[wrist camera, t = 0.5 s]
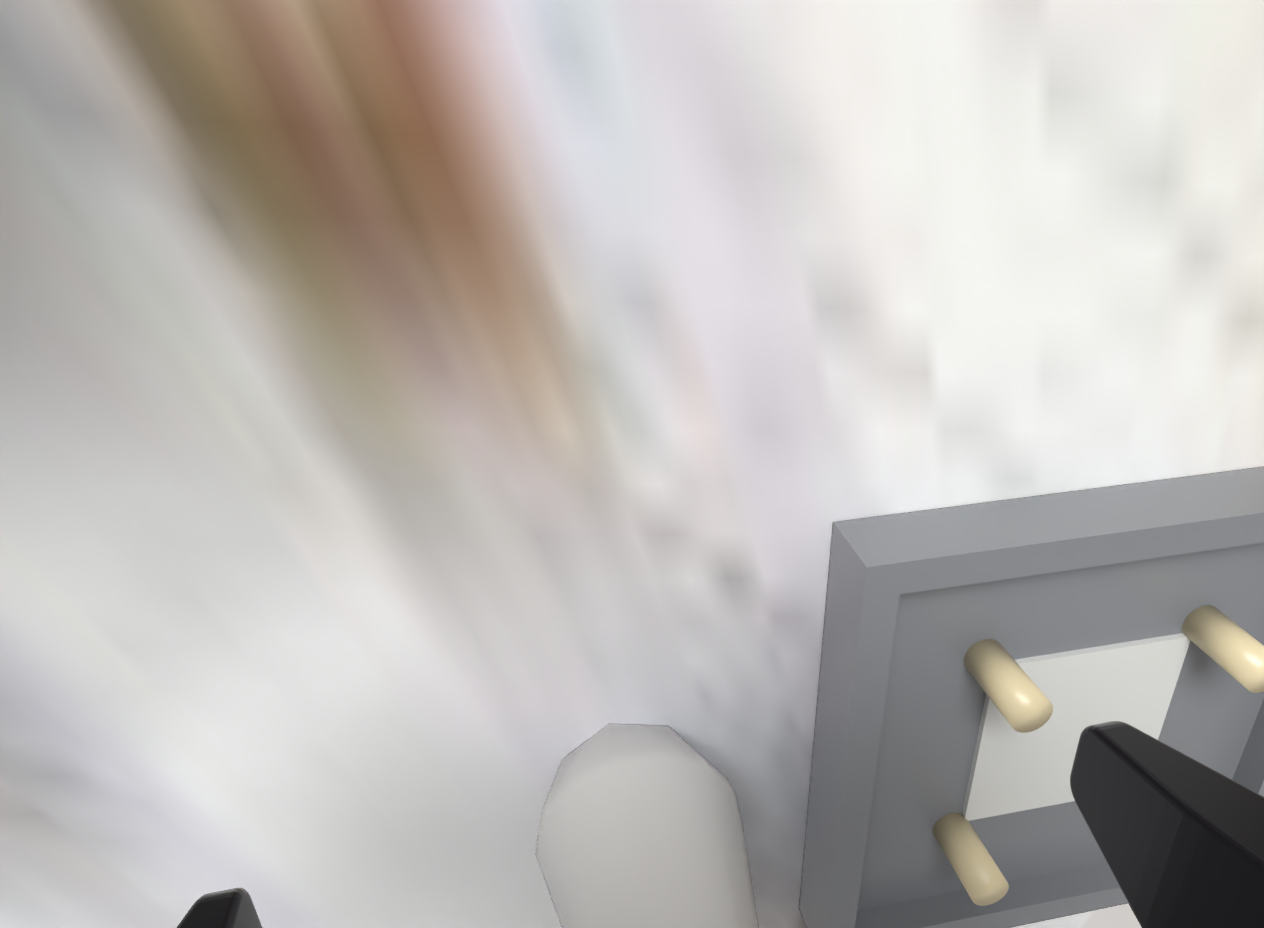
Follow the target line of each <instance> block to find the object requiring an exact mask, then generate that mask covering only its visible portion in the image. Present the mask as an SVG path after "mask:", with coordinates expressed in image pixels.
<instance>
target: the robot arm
mask: <svg viewBox="0 0 1264 928" xmlns="http://www.w3.org/2000/svg"><path fill="white" fill-rule="evenodd" d="M1070 787H1071V792H1072V795H1073V798H1074V800H1075V802H1076V804H1077V806H1078V808H1079V810H1080V812H1081V814H1082V815H1083V817H1084V819H1085V821H1086V823H1087V825H1088V827H1089V829H1090V831H1091V833H1092V835H1093V836H1094V838H1095V840H1096V842H1097V844H1098V846H1099V848H1100V850H1101V852H1102V854H1103V856H1104V857H1105V859H1106V861H1107V863H1108V865H1109V867H1110V869H1111V871H1112V873H1113V875H1114V877H1115V878H1116V880H1117V882H1118V884H1119V886H1120V888H1121V890H1122V892H1123V894H1124V896H1125V898H1126V899H1127V901H1128V903H1129V905H1130V907H1131V909H1132V911H1133V913H1134V914H1135V916H1136V918H1137V920H1138V921H1139V923H1140V925H1141V927H1142V928H1264V797H1263V796H1261V795H1259V794H1258V793H1256V792H1254V791H1252V790H1250V789H1248V788H1246V787H1245V786H1243V785H1241V784H1239V783H1237V782H1235V781H1233V780H1232V779H1230V778H1228V777H1226V776H1224V775H1222V774H1220V773H1219V772H1217V771H1215V770H1213V769H1211V768H1209V767H1207V766H1205V765H1204V764H1202V763H1200V762H1198V761H1196V760H1194V759H1192V758H1191V757H1189V756H1187V755H1185V754H1183V753H1181V752H1179V751H1178V750H1176V749H1174V748H1172V747H1170V746H1168V745H1166V744H1165V743H1163V742H1161V741H1159V740H1157V739H1155V738H1153V737H1152V736H1150V735H1148V734H1146V733H1144V732H1142V731H1140V730H1139V729H1137V728H1135V727H1133V726H1131V725H1129V724H1127V723H1124V722H1121V721H1111V722H1106V723H1101V724H1095V725H1090V726H1088V727H1086V728H1085V729H1084V730H1083V731H1082V732H1081V735H1080V738H1079V742H1078V746H1077V750H1076V754H1075V758H1074V762H1073V766H1072V770H1071V774H1070ZM177 928H262V926H261V923H260V921H259V918H258V915H257V913H256V910H255V908H254V905H253V902H252V900H251V897H250V895H249V893H248V892H247V891H246V890H245V889H243V888H234V889H229V890H224V891H218V892H213V893H209V894H206V895H203V896H202V897H200V898H199V899H198V900H197V901H196V902H195V903H194V904H193V906H192V907H191V909H190V910H189V911H188V913H187V914H186V915H185V917H184V918H183V920H182V921H181V922H180V924H179V925H178V926H177Z"/></svg>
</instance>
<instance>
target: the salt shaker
mask: <svg viewBox="0 0 1264 928" xmlns="http://www.w3.org/2000/svg"><path fill="white" fill-rule="evenodd" d="M536 857H537V859H538V862H539V865H540V868H541V870H542V873H543V876H544V879H545V881H546V884H547V887H548V890H549V893H550V895H551V898H552V901H553V904H554V906H555V909H556V912H557V915H558V917H559V920H560V923H561V926H562V928H759V926H758V920H757V913H756V907H755V901H754V894H753V888H752V882H751V876H750V869H749V863H748V857H747V850H746V844H745V838H744V831H743V825H742V820H741V816H740V812H739V808H738V805H737V801H736V797H735V793H734V790H733V789H732V787H731V785H730V784H729V782H728V780H727V778H726V777H725V776H723V775H722V774H721V773H720V772H719V771H718V770H716V769H715V768H714V767H713V766H712V765H711V764H710V763H708V762H707V761H706V760H705V759H704V758H703V757H701V756H700V755H699V754H698V753H697V752H696V751H695V750H694V749H693V748H692V747H691V746H689V745H688V744H687V743H686V742H685V741H684V740H683V739H682V738H681V737H680V736H679V735H678V734H677V733H675V732H674V731H673V730H672V729H671V728H670V727H669V726H663V725H634V724H608V725H607V726H605V727H604V728H603V729H601V730H600V731H599V732H597V733H596V734H595V735H593V736H592V737H591V738H589V739H588V740H587V741H586V742H584V743H583V744H582V745H580V746H579V747H578V748H576V749H575V750H574V751H572V752H571V753H570V754H568V755H567V756H566V757H564V758H563V759H562V761H561V764H560V766H559V769H558V771H557V774H556V776H555V779H554V781H553V784H552V787H551V789H550V792H549V794H548V797H547V799H546V802H545V804H544V809H543V813H542V818H541V823H540V828H539V832H538V837H537V847H536Z"/></svg>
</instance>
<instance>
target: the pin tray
mask: <svg viewBox="0 0 1264 928" xmlns="http://www.w3.org/2000/svg"><path fill="white" fill-rule="evenodd" d="M1111 721H1121V722H1124V723H1127V724H1129V725H1131V726H1133V727H1135V728H1137V729H1139V730H1140V731H1142V732H1144V733H1146V734H1148V735H1150V736H1152V737H1153V738H1155V739H1157V740H1159V741H1161V742H1163V743H1165V744H1166V745H1168V746H1170V747H1172V748H1174V749H1176V750H1178V751H1179V752H1181V753H1183V754H1185V755H1187V756H1189V757H1191V758H1192V759H1194V760H1196V761H1198V762H1200V763H1202V764H1204V765H1205V766H1207V767H1209V768H1211V769H1213V770H1215V771H1217V772H1219V773H1220V774H1222V775H1224V776H1226V777H1228V778H1230V779H1232V780H1233V781H1235V782H1237V783H1239V784H1241V785H1243V786H1245V787H1246V788H1248V789H1250V790H1252V791H1254V792H1256V793H1258V794H1259V795H1261V796H1263V797H1264V467H1258V468H1250V469H1242V470H1234V471H1226V472H1219V473H1211V474H1203V475H1195V476H1188V477H1180V478H1172V479H1164V480H1157V481H1149V482H1141V483H1133V484H1125V485H1118V486H1110V487H1102V488H1094V489H1087V490H1079V491H1071V492H1063V493H1056V494H1048V495H1040V496H1032V497H1025V498H1017V499H1009V500H1001V501H993V502H986V503H978V504H970V505H962V506H955V507H947V508H939V509H931V510H924V511H916V512H908V513H900V514H892V515H885V516H877V517H869V518H861V519H854V520H846V521H838V522H833V530H832V542H831V553H830V564H829V576H828V587H827V598H826V609H825V621H824V632H823V643H822V655H821V666H820V677H819V689H818V700H817V711H816V722H815V734H814V745H813V756H812V768H811V779H810V790H809V801H808V813H807V824H806V835H805V847H804V858H803V869H802V881H801V892H800V903H799V909H800V912H801V914H802V917H803V919H804V922H805V925H806V927H807V928H1011V927H1016V926H1020V925H1025V924H1030V923H1035V922H1040V921H1045V920H1049V919H1054V918H1059V917H1064V916H1069V915H1074V914H1079V913H1083V912H1088V911H1093V910H1098V909H1103V908H1108V907H1112V906H1117V905H1122V904H1127V903H1128V901H1127V899H1126V898H1125V896H1124V894H1123V892H1122V890H1121V888H1120V886H1119V884H1118V882H1117V880H1116V878H1115V877H1114V875H1113V873H1112V871H1111V869H1110V867H1109V865H1108V863H1107V861H1106V859H1105V857H1104V856H1103V854H1102V852H1101V850H1100V848H1099V846H1098V844H1097V842H1096V840H1095V838H1094V836H1093V835H1092V833H1091V831H1090V829H1089V827H1088V825H1087V823H1086V821H1085V819H1084V817H1083V815H1082V814H1081V812H1080V810H1079V808H1078V806H1077V804H1076V802H1075V800H1074V798H1073V795H1072V792H1071V787H1070V774H1071V770H1072V766H1073V762H1074V758H1075V754H1076V750H1077V746H1078V742H1079V738H1080V735H1081V732H1082V731H1083V730H1084V729H1085V728H1086V727H1088V726H1090V725H1095V724H1101V723H1106V722H1111Z"/></svg>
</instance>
